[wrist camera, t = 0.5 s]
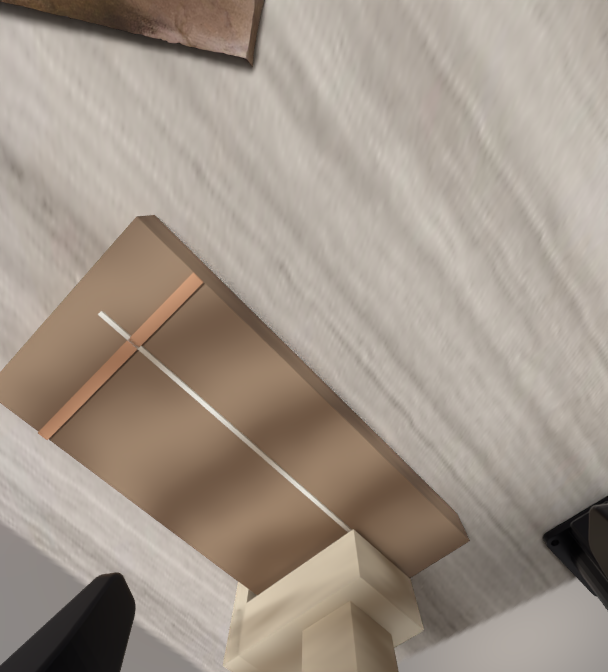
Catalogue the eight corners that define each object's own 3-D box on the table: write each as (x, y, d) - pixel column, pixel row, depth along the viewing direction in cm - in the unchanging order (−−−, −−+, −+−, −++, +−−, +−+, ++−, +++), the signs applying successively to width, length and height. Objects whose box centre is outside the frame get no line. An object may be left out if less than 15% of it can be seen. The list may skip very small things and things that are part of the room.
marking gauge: (402, 548, 24) (471, 807, 14) (291, 620, 26) (280, 889, 16) (349, 500, 23) (383, 745, 13) (238, 580, 25) (189, 843, 15)
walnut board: (457, 513, 24) (470, 542, 22) (313, 607, 26) (313, 639, 24) (154, 215, 18) (135, 216, 16) (13, 373, 21) (-18, 391, 19)
